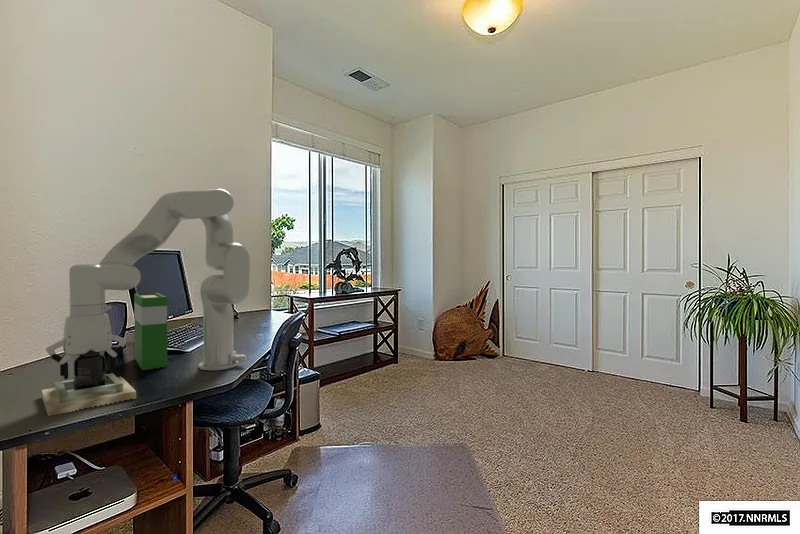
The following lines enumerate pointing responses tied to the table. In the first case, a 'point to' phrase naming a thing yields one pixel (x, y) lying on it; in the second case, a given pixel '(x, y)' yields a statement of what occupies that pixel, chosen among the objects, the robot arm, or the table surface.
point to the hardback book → (150, 330)
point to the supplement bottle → (89, 370)
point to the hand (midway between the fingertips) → (88, 374)
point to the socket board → (85, 395)
